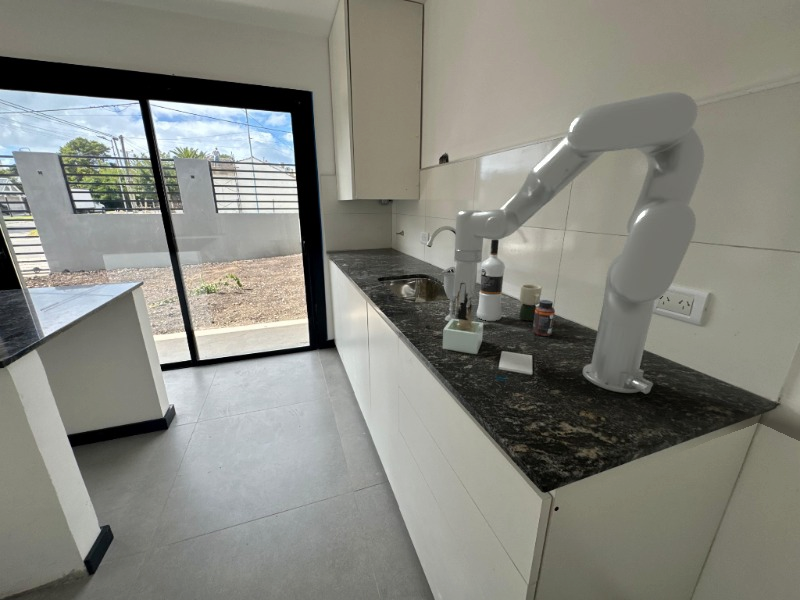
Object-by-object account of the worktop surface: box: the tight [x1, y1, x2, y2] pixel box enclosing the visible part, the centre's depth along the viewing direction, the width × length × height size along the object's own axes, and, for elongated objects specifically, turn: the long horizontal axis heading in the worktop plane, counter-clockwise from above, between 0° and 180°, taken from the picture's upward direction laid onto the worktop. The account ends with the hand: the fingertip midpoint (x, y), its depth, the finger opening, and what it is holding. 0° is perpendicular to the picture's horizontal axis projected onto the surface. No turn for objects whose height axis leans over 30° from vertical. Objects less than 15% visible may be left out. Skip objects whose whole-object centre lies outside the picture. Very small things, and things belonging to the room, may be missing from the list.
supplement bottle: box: [532, 299, 556, 337], centre depth 105 cm, size 6×6×11 cm
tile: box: [498, 350, 533, 376], centre depth 84 cm, size 8×2×10 cm
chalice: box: [442, 272, 457, 322], centre depth 115 cm, size 7×7×18 cm
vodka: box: [476, 239, 505, 322], centre depth 118 cm, size 9×9×30 cm
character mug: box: [518, 284, 542, 321], centre depth 118 cm, size 11×7×13 cm, turn 8°
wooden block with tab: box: [456, 294, 475, 333], centre depth 93 cm, size 5×3×14 cm, turn 67°
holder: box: [442, 318, 484, 355], centre depth 95 cm, size 10×10×7 cm
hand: (464, 317), depth 93 cm, fingers closed on wooden block with tab, 2 cm apart
